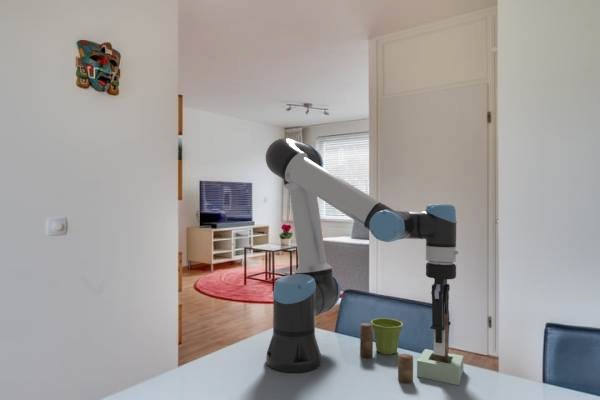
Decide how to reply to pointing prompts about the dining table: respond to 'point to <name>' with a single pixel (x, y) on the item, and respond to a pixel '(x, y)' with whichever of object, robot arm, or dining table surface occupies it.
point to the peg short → (405, 368)
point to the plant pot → (386, 334)
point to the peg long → (445, 358)
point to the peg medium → (366, 340)
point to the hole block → (440, 367)
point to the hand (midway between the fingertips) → (440, 352)
